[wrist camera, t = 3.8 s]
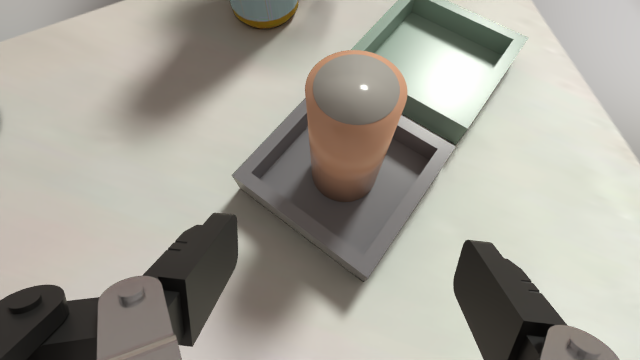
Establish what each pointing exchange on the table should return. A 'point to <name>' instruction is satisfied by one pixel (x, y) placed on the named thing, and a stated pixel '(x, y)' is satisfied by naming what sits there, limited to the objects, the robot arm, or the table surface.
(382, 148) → the orange cylinder
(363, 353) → the table surface
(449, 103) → the tray
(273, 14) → the bottle
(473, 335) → the robot arm
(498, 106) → the table surface
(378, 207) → the tray
